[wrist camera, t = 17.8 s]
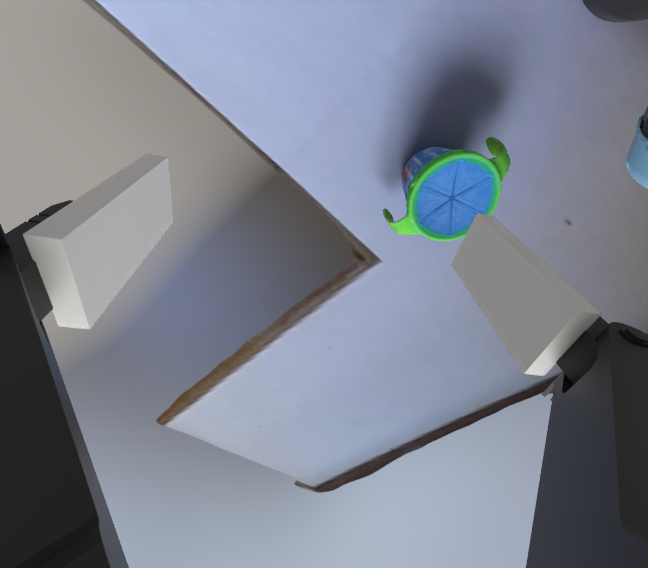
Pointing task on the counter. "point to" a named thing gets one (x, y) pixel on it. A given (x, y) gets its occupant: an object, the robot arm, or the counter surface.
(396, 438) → the counter surface
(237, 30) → the counter surface
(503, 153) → the snack cup
